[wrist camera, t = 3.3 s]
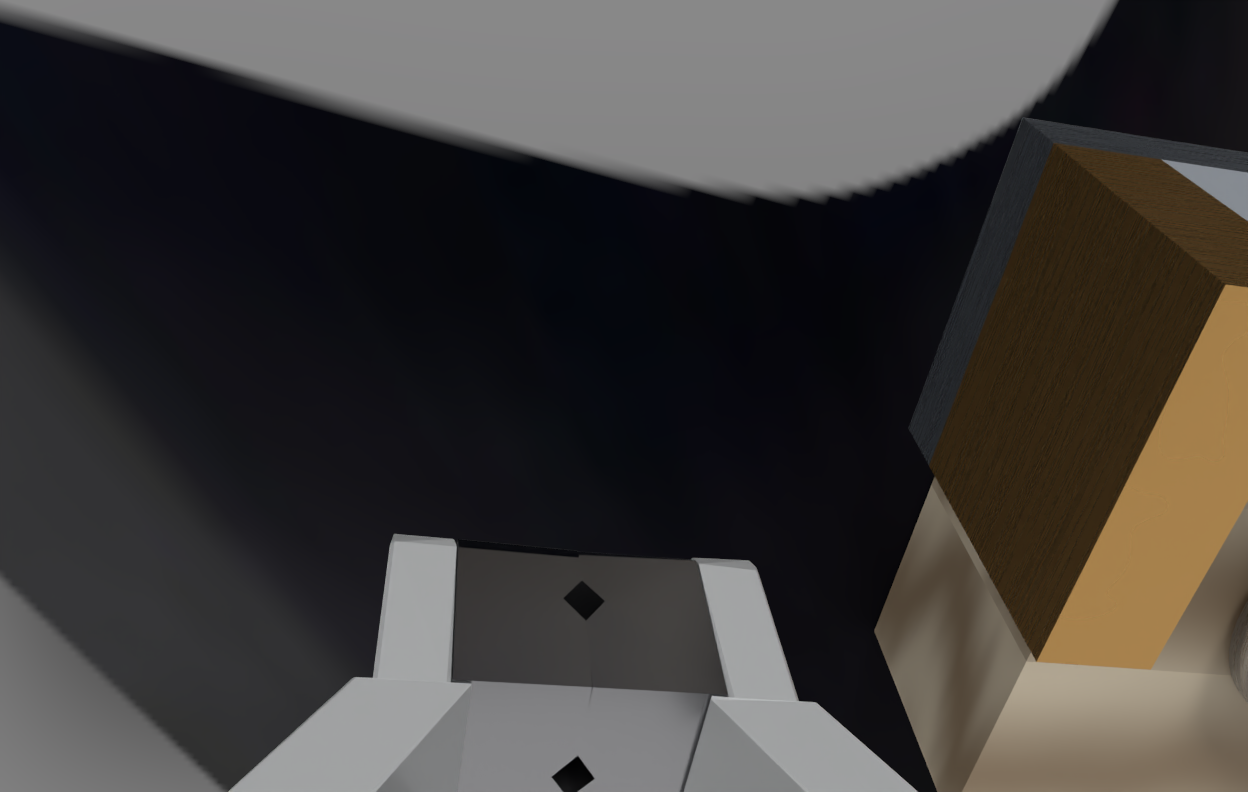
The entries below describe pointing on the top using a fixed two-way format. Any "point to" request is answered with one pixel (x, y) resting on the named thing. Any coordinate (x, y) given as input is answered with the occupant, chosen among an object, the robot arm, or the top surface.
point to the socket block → (1059, 683)
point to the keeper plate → (1098, 387)
